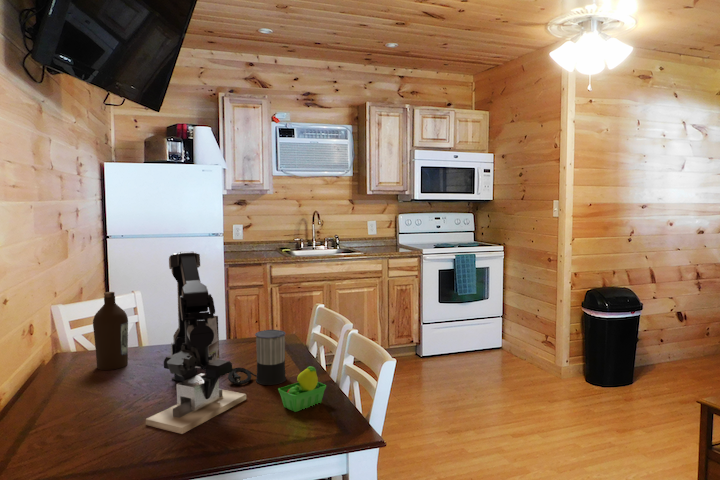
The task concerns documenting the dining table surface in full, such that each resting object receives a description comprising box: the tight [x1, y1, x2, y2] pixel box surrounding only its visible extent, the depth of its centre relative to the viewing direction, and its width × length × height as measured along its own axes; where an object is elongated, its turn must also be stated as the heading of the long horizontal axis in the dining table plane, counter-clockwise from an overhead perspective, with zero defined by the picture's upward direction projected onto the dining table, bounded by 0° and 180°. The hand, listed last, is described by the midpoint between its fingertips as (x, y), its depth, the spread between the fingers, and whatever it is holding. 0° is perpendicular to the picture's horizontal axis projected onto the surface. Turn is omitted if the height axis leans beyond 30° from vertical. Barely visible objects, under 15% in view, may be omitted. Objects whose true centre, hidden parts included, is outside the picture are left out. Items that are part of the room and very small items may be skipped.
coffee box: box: [208, 315, 220, 363], centre depth 178 cm, size 9×6×16 cm
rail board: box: [145, 387, 247, 435], centre depth 137 cm, size 24×12×4 cm, turn 154°
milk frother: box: [227, 329, 287, 386], centre depth 160 cm, size 14×16×15 cm
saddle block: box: [175, 372, 220, 411], centre depth 137 cm, size 9×6×6 cm, turn 154°
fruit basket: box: [277, 365, 327, 413], centre depth 140 cm, size 11×9×11 cm
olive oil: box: [92, 291, 129, 371], centre depth 176 cm, size 11×11×25 cm
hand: (198, 396), depth 137 cm, fingers closed on saddle block, 6 cm apart
